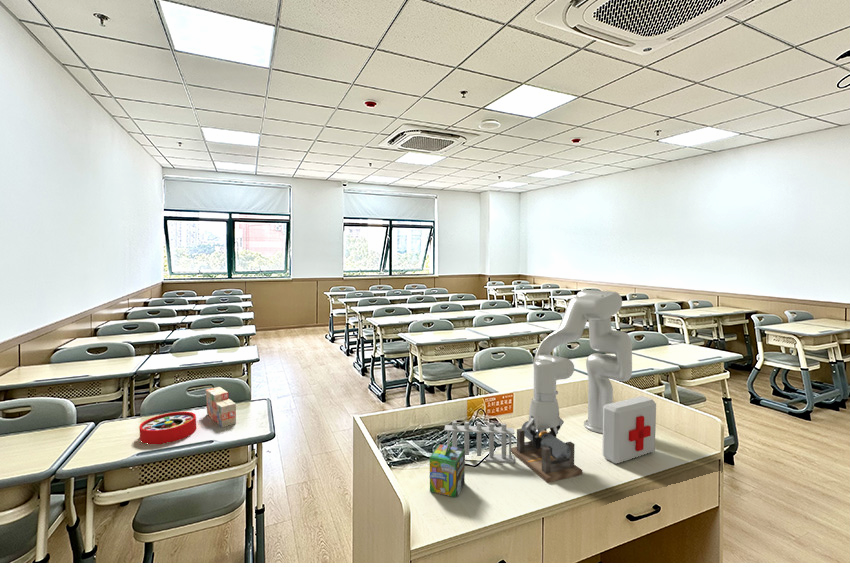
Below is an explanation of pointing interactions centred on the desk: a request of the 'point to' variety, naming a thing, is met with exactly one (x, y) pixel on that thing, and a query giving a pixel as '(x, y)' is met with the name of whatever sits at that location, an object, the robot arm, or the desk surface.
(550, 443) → the grey cylinder
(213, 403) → the stack of blocks
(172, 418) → the toy clock
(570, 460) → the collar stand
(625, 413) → the bevelled white case
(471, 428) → the test tube rack
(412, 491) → the desk surface
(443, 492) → the chalk box
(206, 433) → the desk surface
